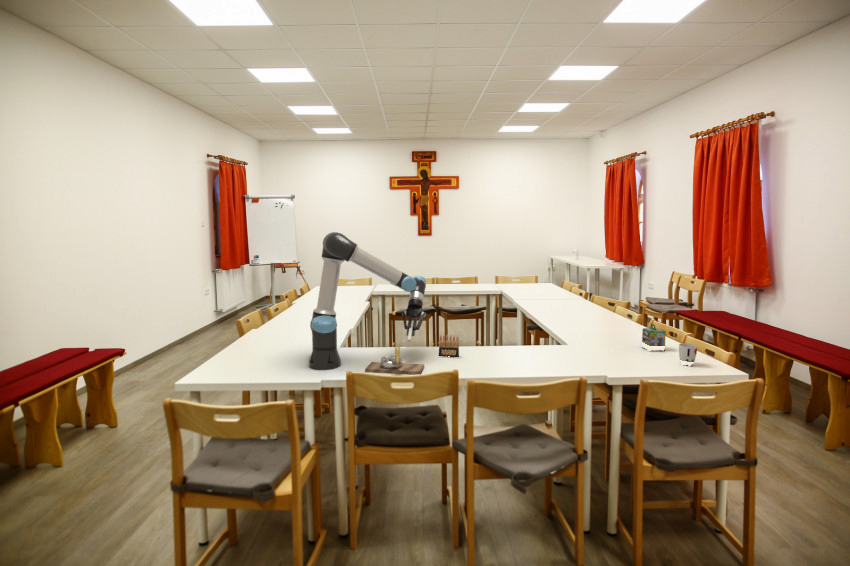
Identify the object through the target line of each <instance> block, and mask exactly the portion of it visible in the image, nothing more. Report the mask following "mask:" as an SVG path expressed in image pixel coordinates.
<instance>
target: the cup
mask: <svg viewBox="0 0 850 566" xmlns="http://www.w3.org/2000/svg"><path fill="white" fill-rule="evenodd" d="M697 353H698V345H695V344H694V343H693V344H691V343H685V342H684V343H683V342H681V343H679V344H678V358H679V361H680V360H682V361H687V362H694V363H695V360H696V357H697Z"/></svg>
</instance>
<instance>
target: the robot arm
mask: <svg viewBox="0 0 850 566" xmlns="http://www.w3.org/2000/svg"><path fill="white" fill-rule="evenodd" d="M321 259H322V260H323V265H322V270H321V278H320V279H321V280H320V286H319V290H318V297H317V305H316V307H315V308H314V309H313V311H312V315H311V320H310V323H309V324H310V325H309V326H310V330H311V337H312V339H311V341H312V343H311V344H312V345H311V346H312V351H311V355H310V356H309V361H308V367H309V368H310V369H314V370H322V371H323V370H331V369H332V370H333V369H337V368H339V367H340V366H341V365H342V360H341V357H340V355H339V350H338V340H337V339H338V335H337V334H338V333H337V332H338V331H337V330H338V329H337V327H338V322H337V312H336V310H335V306H336V300H337V299H336V298H337V291H338V286H339V280H340V279H339V278H340V272H341V267H342V264H343V262H348V263H349V262H352V263H353V264H355V265H357V266H359V267H360V268H363V269H364V270H366V271H368V272H370V273H372V274H373V275H376V276H377V277H379V278H381V279H383V280H385V281H387V282H389V284H390V285H392V286H394V287H396V288H397V287H398V288H399V289H400V290H401V289H402V290H403V291H404V292H409V296H408V297H409V298H408V303H407V308H406V309H405V310H404V311H403V310H402V311H401V316H402V318H403V319H402V321H403V327H404V330H406V336H407V343H412V339H413V337H414V336H415V333H416V331H419V330H420V329H421V326H422V324H423V322H424V320H425V318H426V317H427V312H425V311H423V307H424V299H425V292H426V287H427V286H426V285H427V280H426V278H425V277H424V276H422V275H415V276H410V275H408V274H407V273H405V272H403V271H401V270H400V269H397V268H396V267H394V266H392V265H390V264H389V263H386V262H385V261H384V260H382V259H380V258H378V257H377V256H374V255H373V254H370V253H369V252H368V251H366V250H363V249H362V248H360V247H359V245H358V244H357V243H356V242H354V241H352V240H351V239H349V237H347V236H346V235H344V234H343V233H340V232H336V231H334V232H333V231H332V232H330V233H328V234H326V235H325V237H324V238H323V240H322V251H321ZM407 315H408V320H407V317H406V316H407ZM418 318H419V319H418ZM407 321H408V323H407ZM412 321H413V322H412ZM417 321H418V322H417Z"/></svg>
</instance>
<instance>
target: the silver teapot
mask: <svg viewBox="0 0 850 566" xmlns="http://www.w3.org/2000/svg"><path fill="white" fill-rule="evenodd" d="M402 358H403V357H401V347H400V346H395V347H394V355H391V356H390V357H389V356H388V357H386V356H381V358H380V361H379V362H380V366H381V367H382V368H384V369H397V368H400V367H401V366H402V363H403V362H402V361H403V359H402Z"/></svg>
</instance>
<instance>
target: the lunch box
mask: <svg viewBox="0 0 850 566" xmlns="http://www.w3.org/2000/svg"><path fill="white" fill-rule="evenodd" d="M666 332H667V331H666V330H663V329H661V328H659V327H658V328H657V327H656V325H655V324H654V323H652V322H650V327H644V328H642V335H641V336H642V337H641V339H642V340H641V343H642V342H643V343H645V344H647V345H649V346H665V347H666Z"/></svg>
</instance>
